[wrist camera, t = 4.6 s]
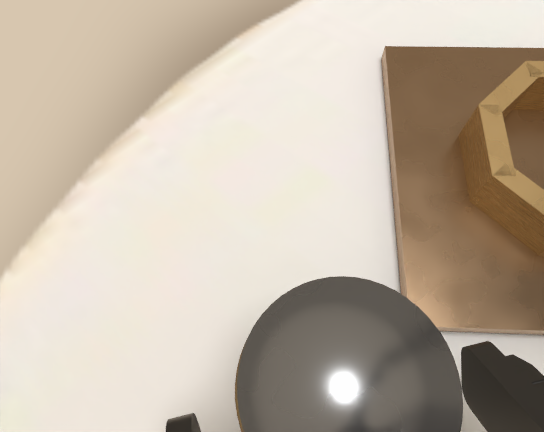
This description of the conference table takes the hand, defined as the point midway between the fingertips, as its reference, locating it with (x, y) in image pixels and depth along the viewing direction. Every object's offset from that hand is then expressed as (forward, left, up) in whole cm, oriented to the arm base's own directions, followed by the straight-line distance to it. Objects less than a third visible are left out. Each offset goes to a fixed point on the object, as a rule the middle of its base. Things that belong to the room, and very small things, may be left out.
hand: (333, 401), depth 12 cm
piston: (0, 0, -6) cm, 6 cm away
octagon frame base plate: (-12, -11, -6) cm, 18 cm away
